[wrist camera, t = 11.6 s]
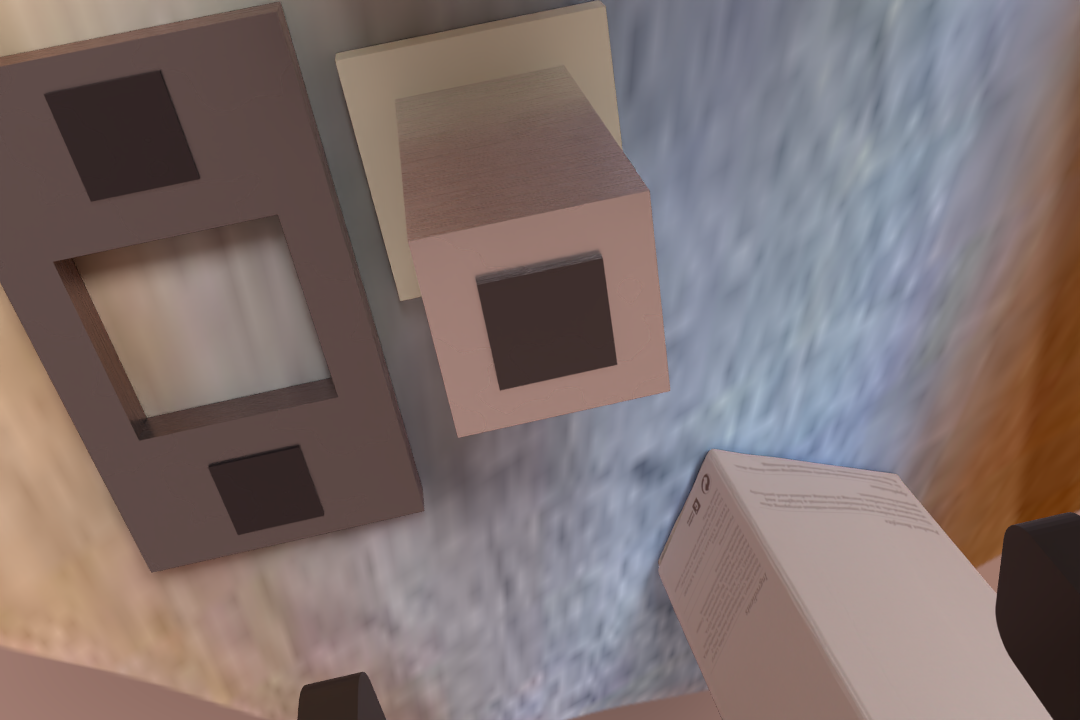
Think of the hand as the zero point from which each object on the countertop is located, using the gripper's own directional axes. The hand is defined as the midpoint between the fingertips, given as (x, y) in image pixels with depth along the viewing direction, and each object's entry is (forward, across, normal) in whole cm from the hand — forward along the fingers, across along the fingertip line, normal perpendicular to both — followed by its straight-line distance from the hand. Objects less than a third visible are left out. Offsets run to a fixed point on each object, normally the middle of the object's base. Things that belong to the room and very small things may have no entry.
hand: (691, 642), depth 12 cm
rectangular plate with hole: (+18, +10, +3) cm, 21 cm away
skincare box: (+18, -7, +16) cm, 25 cm away
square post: (+17, +1, 0) cm, 17 cm away
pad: (+18, +1, 0) cm, 18 cm away
